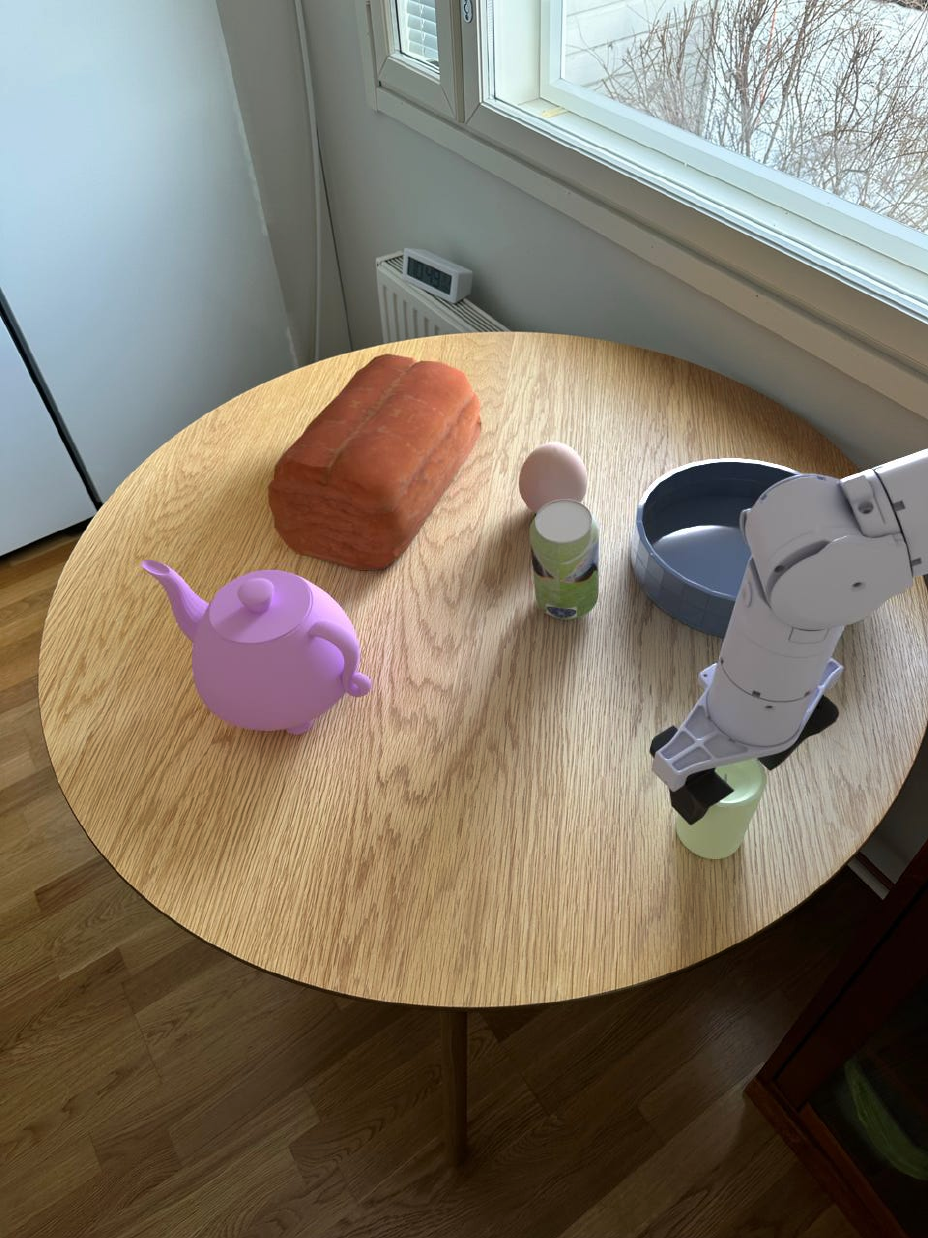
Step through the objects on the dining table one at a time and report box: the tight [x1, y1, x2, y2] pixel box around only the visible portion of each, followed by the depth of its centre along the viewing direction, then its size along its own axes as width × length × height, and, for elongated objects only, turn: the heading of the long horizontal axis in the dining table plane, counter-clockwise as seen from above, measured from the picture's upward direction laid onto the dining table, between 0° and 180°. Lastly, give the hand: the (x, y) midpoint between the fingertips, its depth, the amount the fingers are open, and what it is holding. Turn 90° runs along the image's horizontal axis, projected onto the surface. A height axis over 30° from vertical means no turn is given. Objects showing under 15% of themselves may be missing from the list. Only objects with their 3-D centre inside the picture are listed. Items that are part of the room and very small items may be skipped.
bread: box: [267, 353, 483, 571], centre depth 89 cm, size 16×27×11 cm, turn 158°
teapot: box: [141, 559, 373, 736], centre depth 70 cm, size 20×14×12 cm
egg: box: [518, 441, 588, 515], centre depth 86 cm, size 7×7×8 cm
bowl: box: [630, 457, 804, 639], centre depth 81 cm, size 21×21×5 cm
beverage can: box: [528, 499, 600, 621], centre depth 75 cm, size 6×7×12 cm
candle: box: [675, 758, 768, 860], centre depth 60 cm, size 5×5×8 cm
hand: (724, 785), depth 58 cm, fingers open, 7 cm apart
